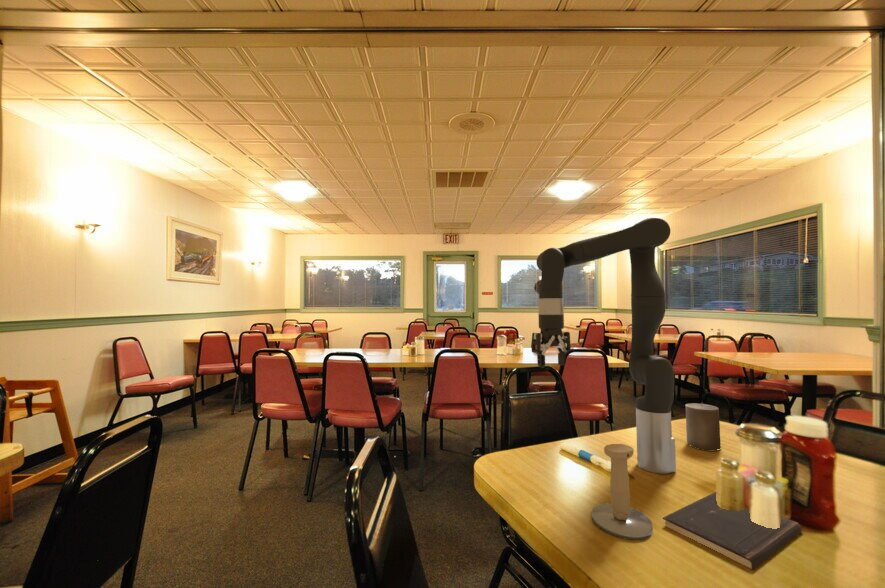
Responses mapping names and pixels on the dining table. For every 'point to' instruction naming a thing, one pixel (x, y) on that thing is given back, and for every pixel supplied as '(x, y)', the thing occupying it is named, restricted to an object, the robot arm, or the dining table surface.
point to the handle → (619, 479)
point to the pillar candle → (703, 426)
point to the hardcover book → (731, 531)
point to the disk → (622, 523)
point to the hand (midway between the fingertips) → (551, 366)
